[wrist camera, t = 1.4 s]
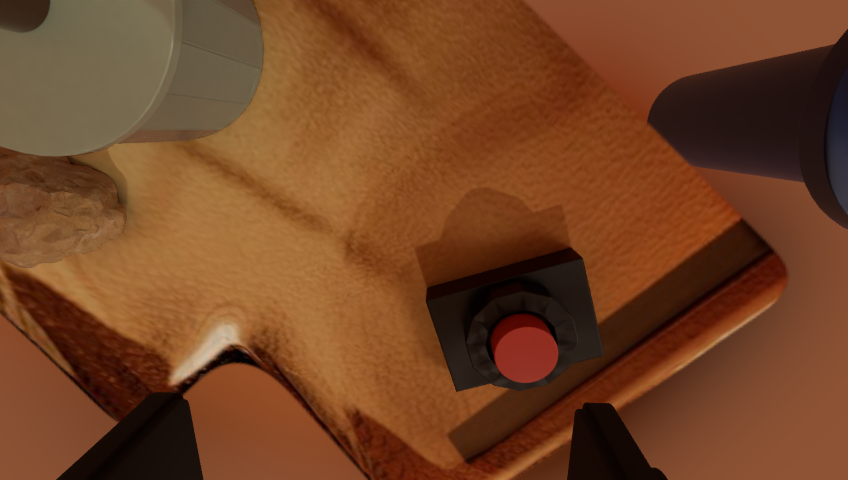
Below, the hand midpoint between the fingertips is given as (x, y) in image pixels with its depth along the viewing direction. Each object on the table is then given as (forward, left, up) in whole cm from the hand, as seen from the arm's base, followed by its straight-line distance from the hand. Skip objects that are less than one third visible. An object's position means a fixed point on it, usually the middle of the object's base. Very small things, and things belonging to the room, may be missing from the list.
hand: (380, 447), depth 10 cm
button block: (-5, +7, -18) cm, 19 cm away
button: (-5, +7, -14) cm, 16 cm away
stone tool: (+22, -10, -18) cm, 31 cm away
